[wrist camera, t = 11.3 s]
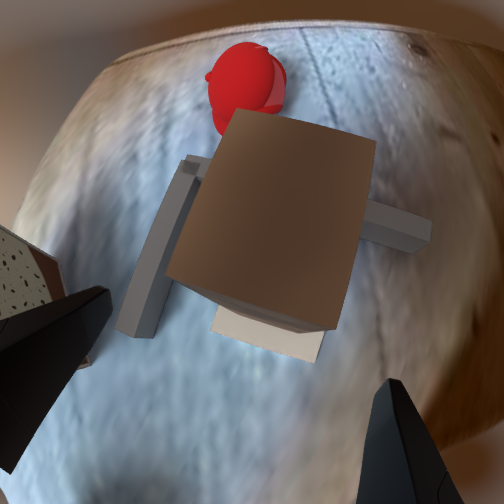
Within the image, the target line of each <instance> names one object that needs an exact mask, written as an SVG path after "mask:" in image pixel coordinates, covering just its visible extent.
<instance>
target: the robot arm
mask: <svg viewBox="0 0 504 504" xmlns="http://www.w3.org/2000/svg"><path fill="white" fill-rule="evenodd" d="M112 311H113V305H112V299H111V293H110V290H109V289H108V288H105V287H103V286H100V285H98V286H95V287H92V288H89V289H86V290H83V291H80V292H77V293H75V294H72V295H69V296H66V297H63V298H60V299H58V300H55V301H52V302H49V303H46V304H44V305H41V306H38V307H35V308H32V309H30V310H27V311H24V312H21V313H18V314H16V315H13V316H10V318H9V317H7V318H5V319H2V320H0V468H1V469H3V470H4V471H6V472H7V473H9V474H10V475H11V473H12V472H13V470H14V469H15V467H16V465H17V463H18V462H19V460H20V458H21V456H22V455H23V453H24V451H25V450H26V448H27V446H28V444H29V443H30V441H31V439H32V438H33V436H34V434H35V433H36V431H37V429H38V428H39V426H40V425H41V423H42V421H43V420H44V418H45V417H46V415H47V413H48V412H49V410H50V409H51V407H52V406H53V404H54V403H55V401H56V400H57V398H58V397H59V395H60V393H61V392H62V390H63V389H64V388H65V386H66V385H67V383H68V382H69V380H70V379H71V377H72V376H73V374H74V373H75V371H76V370H77V369H78V367H79V366H80V364H81V363H82V361H83V360H84V359H85V357H86V356H87V354H88V353H89V351H90V350H91V348H92V347H93V345H94V344H95V342H96V340H97V338H98V337H99V335H100V333H101V331H102V330H103V328H104V326H105V324H106V323H107V321H108V319H109V318H110V316H111V314H112ZM356 504H464V502H463V500H462V498H461V496H460V495H459V493H458V491H457V489H456V487H455V485H454V483H453V481H452V479H451V476H450V474H449V472H448V471H447V468H446V466H445V464H444V462H443V460H442V458H441V456H440V454H439V452H438V450H437V448H436V446H435V444H434V442H433V440H432V438H431V436H430V434H429V432H428V430H427V428H426V426H425V424H424V422H423V420H422V419H421V417H420V415H419V413H418V411H417V409H416V407H415V405H414V404H413V402H412V400H411V398H410V396H409V395H408V393H407V391H406V389H405V387H404V385H403V384H402V382H401V381H400V380H397V379H392V378H388V379H387V380H386V381H385V382H384V383H383V385H382V386H381V387H380V388H379V390H378V391H377V392H376V394H375V396H374V399H373V404H372V410H371V415H370V420H369V425H368V430H367V434H366V439H365V445H364V452H363V461H362V468H361V475H360V482H359V488H358V494H357V500H356Z"/></svg>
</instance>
